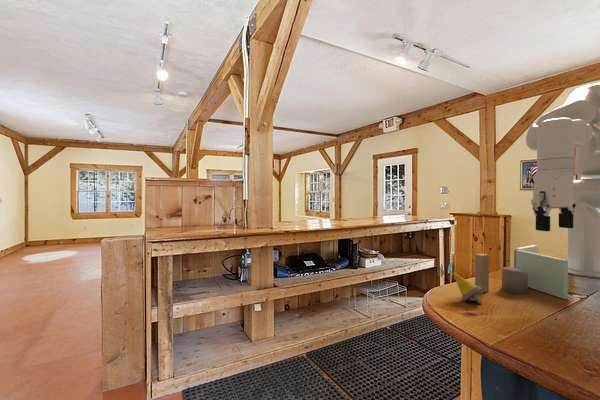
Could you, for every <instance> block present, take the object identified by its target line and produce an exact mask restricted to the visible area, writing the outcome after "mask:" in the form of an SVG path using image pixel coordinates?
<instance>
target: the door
mask: <svg viewBox="0 0 600 400" xmlns="http://www.w3.org/2000/svg"><path fill="white" fill-rule="evenodd" d="M513 253H514V254H513V267H516V268H521V269H525V270H527V271H528V288H529V289H530V288H531V289H534V290H536V291H540V292H543V293H546V294H548V295H552V296H554V297H557V298H560V299H563V300H565V299H567V300H568V297H569V273H568V259H563V258H559V257H554V256H549V255H545V254H539V253H538V254H536V253H531V252H527V251H522V250H517V249H516V248H515V249H514V250H513Z"/></svg>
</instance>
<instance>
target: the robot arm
mask: <svg viewBox="0 0 600 400" xmlns="http://www.w3.org/2000/svg"><path fill="white" fill-rule="evenodd" d="M596 124H600V82H597V83H593V84H592V83H591V84H588V85H584V86H581V87H579V88H576V89H575V90H574V91H572V93H570V95H569V96H568V98H567V99H566V101H565V102H564V104H563V105H561V106H558V107H557V108H555V109H553V110H551V111H549V112H547V113H544V114H543V115H540V116H539V117H537V118H536V119H535V120H534V121H533V122H532V124H531V125H530V127H529V128H528V130H527V132H526V136H525V143H526V146H527V147H528V149H530V150H532V151H535V152H536V172H535V176H534V182H533V191H532V199H531V200H530V204H531V206H532V211H533V212H534V213H533V214H534V216H535V230H536V231H539V232H550V231H551V216H550V215H549V214H550V213H551V211H552V209H558V210H559V213H558V228H563V229H564V228H565V229H567V260H568V274H572V275H576V276H581V277H582V276H583V277H589V278H597V279H600V211H598V209H600V126H597V125H596ZM574 148H576V153H575V152H574V151H575V149H574ZM574 153H575V156H574ZM574 157H575V158H574ZM574 159H575V160H574ZM573 171H574V172H575V174H576V175H577V176H578V177H580V179H575V180H574V174H573Z"/></svg>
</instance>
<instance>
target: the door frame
mask: <svg viewBox="0 0 600 400" xmlns="http://www.w3.org/2000/svg"><path fill="white" fill-rule="evenodd" d="M515 249H517V250H522V251H527V252H531V253H536V254H539V252H538V249H539V247H538V245H535V244H533V245H526V246H520V247H516V248H515ZM489 268H490V256H489V254H488V253H476V254H474V285H476V286H480V287H481V288H482V290H481V291H479V292H478V293H480V294H484V293H483V292H485V293H489V292H490V286H489V285H490V274H489V273H490V272H489V271H490V269H489ZM488 291H489V292H488Z"/></svg>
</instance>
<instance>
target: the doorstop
mask: <svg viewBox="0 0 600 400" xmlns="http://www.w3.org/2000/svg"><path fill="white" fill-rule="evenodd" d="M528 288H529V287H528V271H527V270H525V269H521V268H516V267H514V266H504V267H501V290H502V291H504V292H506V291H507V292H506V293H509V292H510V293H511V294H514V295H526V294H528V292H529V291H528ZM510 293H509V294H510Z"/></svg>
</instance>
